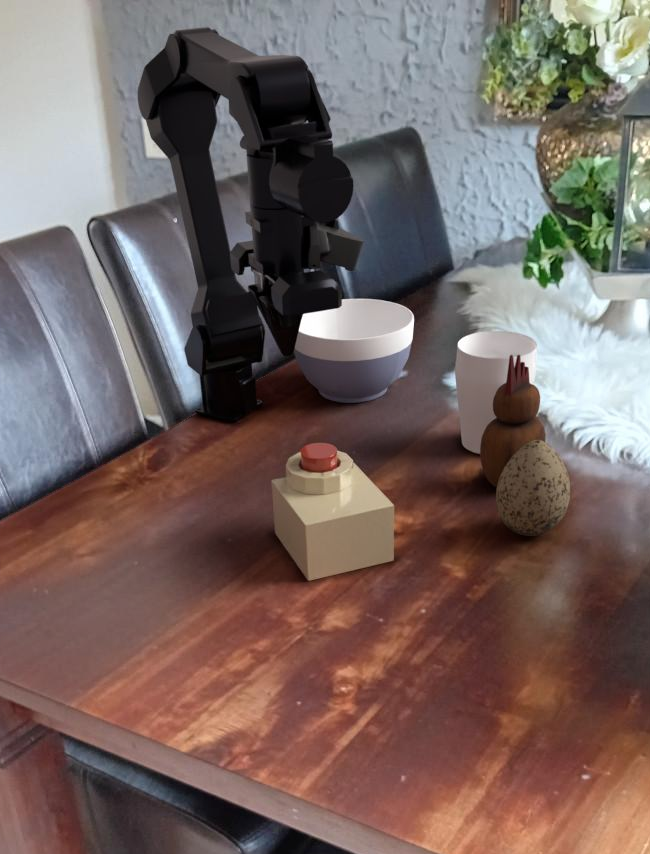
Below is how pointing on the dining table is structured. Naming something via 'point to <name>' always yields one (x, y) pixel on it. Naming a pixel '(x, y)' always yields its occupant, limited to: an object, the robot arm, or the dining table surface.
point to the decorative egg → (533, 490)
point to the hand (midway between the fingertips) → (287, 354)
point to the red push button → (319, 458)
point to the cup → (486, 377)
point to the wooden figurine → (511, 421)
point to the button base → (332, 519)
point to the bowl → (354, 348)
